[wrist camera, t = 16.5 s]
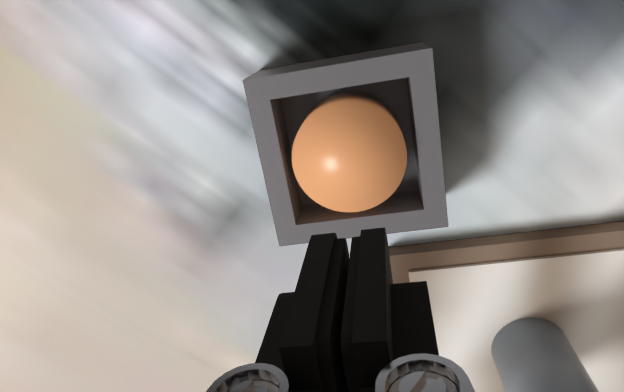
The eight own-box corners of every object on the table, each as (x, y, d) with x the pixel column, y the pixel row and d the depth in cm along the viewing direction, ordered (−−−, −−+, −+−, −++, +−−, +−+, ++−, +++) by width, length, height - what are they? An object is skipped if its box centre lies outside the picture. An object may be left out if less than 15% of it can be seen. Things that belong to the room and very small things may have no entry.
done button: (396, 84, 23) (400, 92, 20) (408, 186, 24) (412, 205, 22) (289, 101, 23) (281, 111, 21) (308, 198, 25) (302, 218, 23)
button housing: (422, 41, 23) (432, 47, 20) (437, 199, 26) (448, 226, 23) (258, 70, 24) (242, 80, 21) (289, 217, 27) (279, 246, 24)
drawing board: (663, 216, 25) (677, 226, 24) (648, 415, 29) (659, 431, 28) (386, 247, 27) (387, 258, 26) (411, 428, 32) (413, 443, 31)
